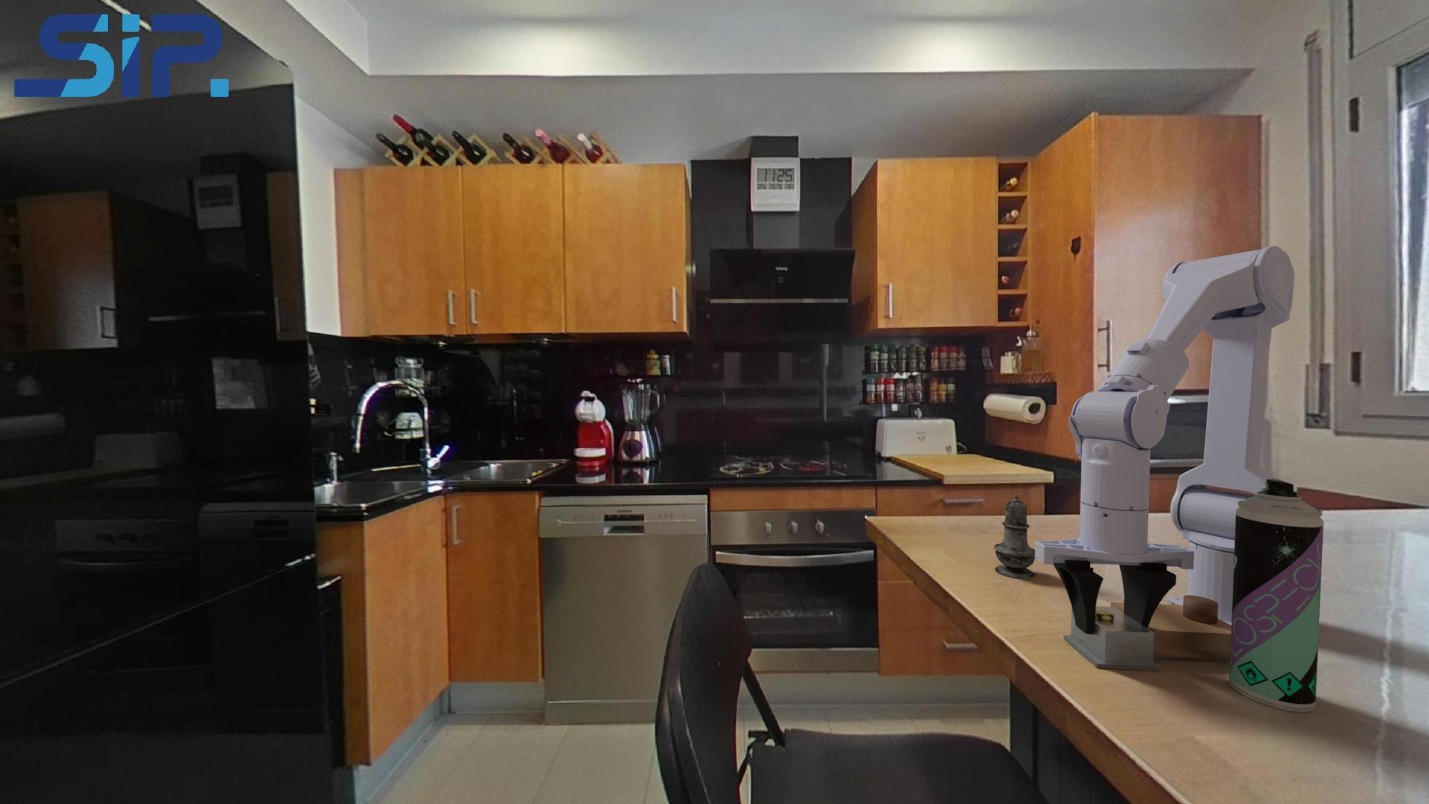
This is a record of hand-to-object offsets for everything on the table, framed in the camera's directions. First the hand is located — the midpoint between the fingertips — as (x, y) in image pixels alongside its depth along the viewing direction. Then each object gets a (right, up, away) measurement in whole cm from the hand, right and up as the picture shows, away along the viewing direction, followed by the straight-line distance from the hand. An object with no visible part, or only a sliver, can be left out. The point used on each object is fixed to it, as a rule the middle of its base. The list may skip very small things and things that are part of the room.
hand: (1109, 631), depth 56 cm
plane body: (+9, -2, +2) cm, 9 cm away
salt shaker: (+4, -2, +24) cm, 24 cm away
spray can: (+10, -3, -7) cm, 12 cm away
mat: (0, -3, 0) cm, 2 cm away
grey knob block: (0, -2, 0) cm, 2 cm away
